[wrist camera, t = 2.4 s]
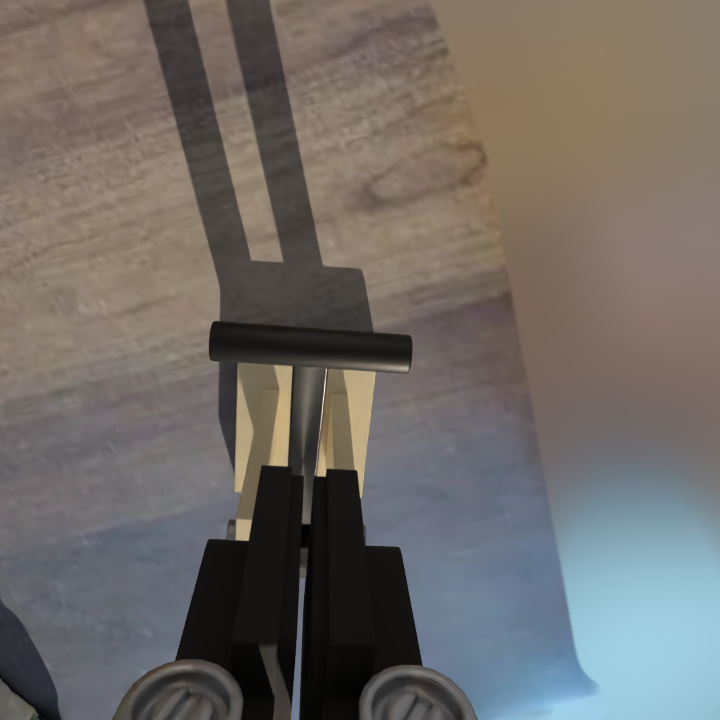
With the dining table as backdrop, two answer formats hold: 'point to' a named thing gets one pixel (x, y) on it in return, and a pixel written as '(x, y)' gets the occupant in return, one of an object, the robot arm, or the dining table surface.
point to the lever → (308, 379)
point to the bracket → (272, 421)
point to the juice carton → (15, 706)
